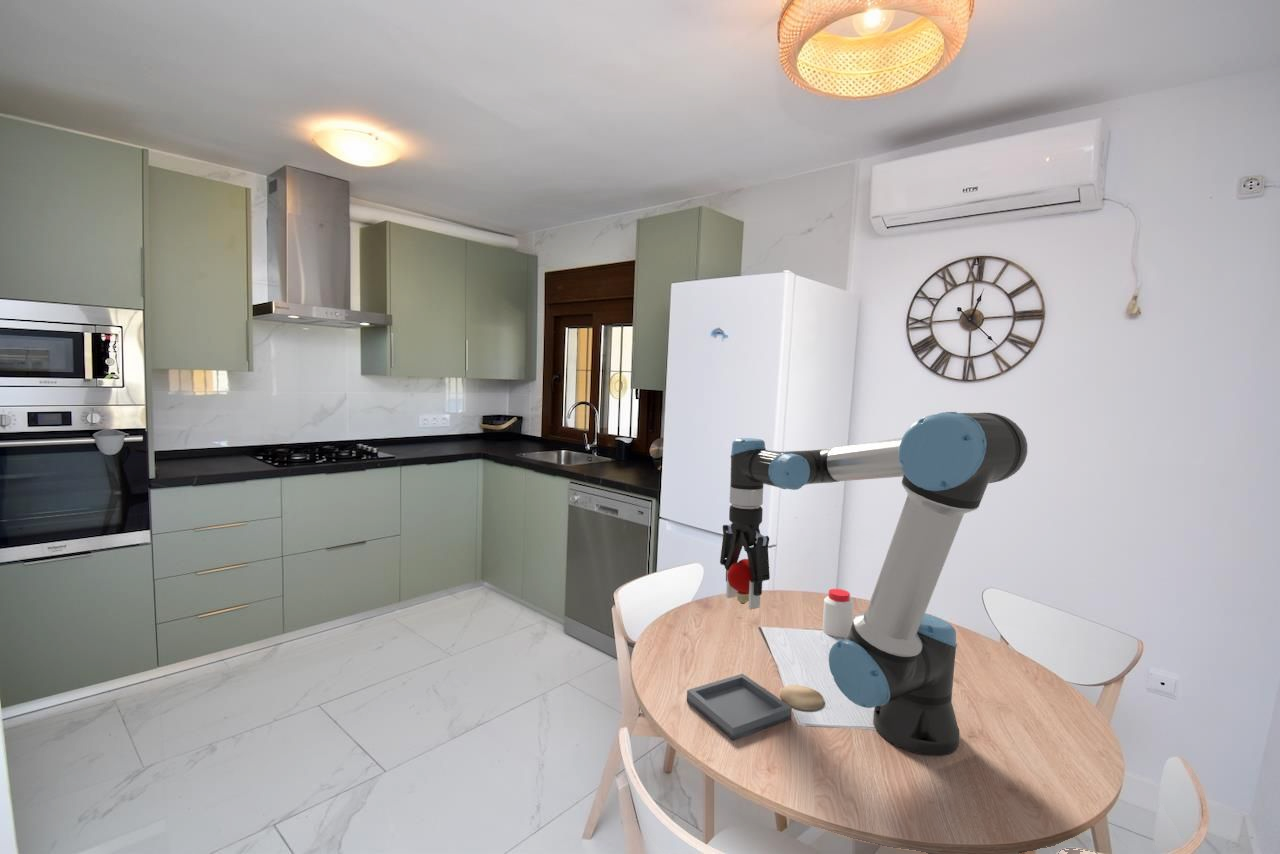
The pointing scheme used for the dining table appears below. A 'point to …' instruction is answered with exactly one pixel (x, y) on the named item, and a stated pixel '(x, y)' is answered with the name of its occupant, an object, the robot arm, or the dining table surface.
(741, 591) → the red rounded piece
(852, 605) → the pill bottle
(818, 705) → the cork coaster
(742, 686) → the socket dish
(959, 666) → the dining table surface
